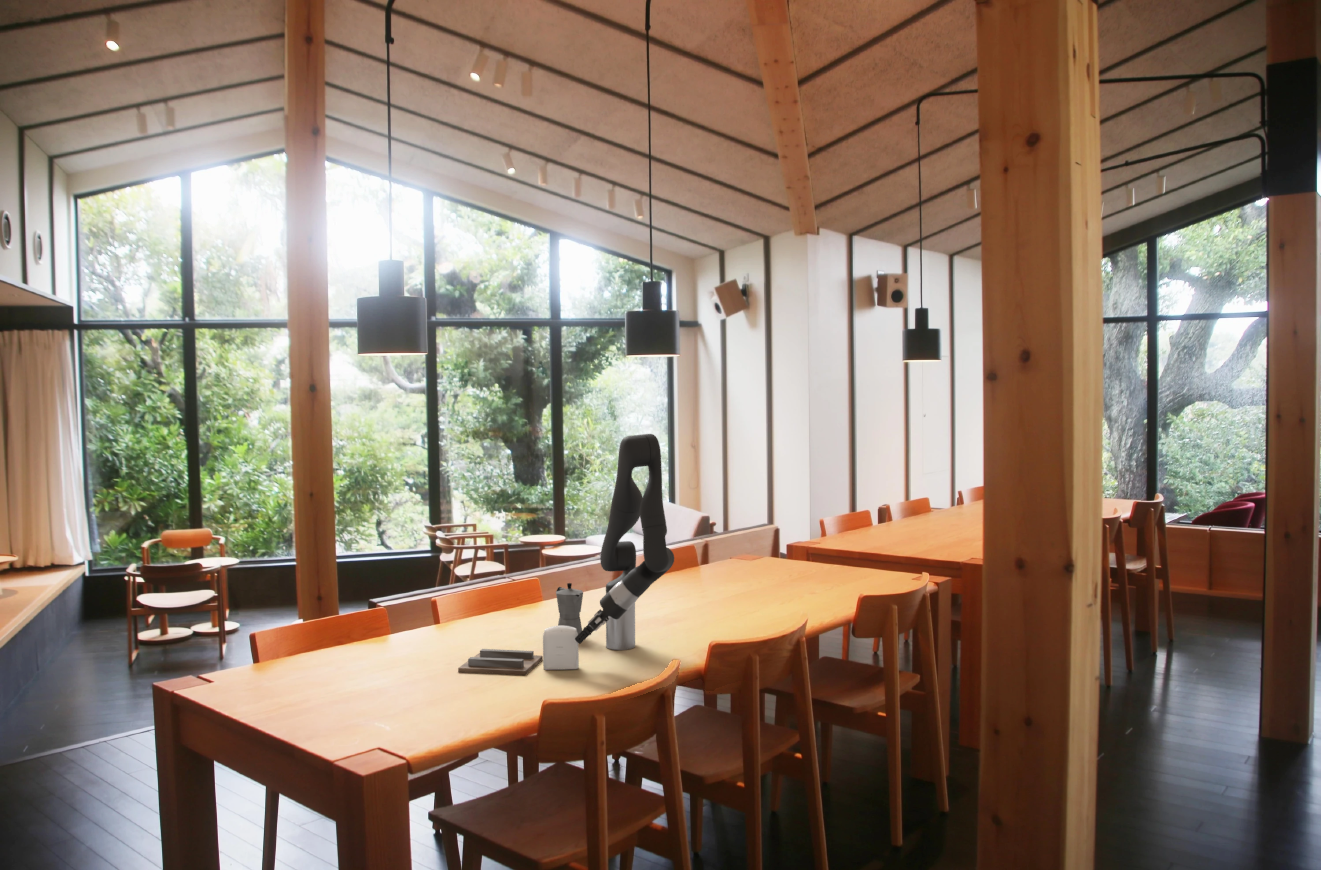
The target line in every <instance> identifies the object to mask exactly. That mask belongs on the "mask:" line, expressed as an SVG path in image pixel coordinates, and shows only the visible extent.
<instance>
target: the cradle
mask: <svg viewBox="0 0 1321 870" xmlns="http://www.w3.org/2000/svg"><path fill="white" fill-rule="evenodd" d="M540 661H541V662H543V655H535V654H534V650H517V649H515V650H514V649H494V648H491V649H490V648H482V649H480V650H479V652H478V653H477V654H476V655H474V656H470V657H469V658H468V659H467V661H466V662H464V663H463V664H462V665H460V666H459V667H458V668H457V672H458V673H468V674H469V673H470V674H488V675H489V674H491V675H493V674H494V675H512V676H513V675H515V676H527V675H528V674H529V673H530V672H531V671H532V670H533V669H534V668H535V667H536V666H537V665H539V664H540V663H539V662H540Z"/></svg>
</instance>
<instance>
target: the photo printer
mask: <svg viewBox="0 0 1321 870" xmlns="http://www.w3.org/2000/svg"><path fill="white" fill-rule="evenodd" d="M577 636H578V633H577V629H576V628H574V627H570V626H558V625H554V626H553V625H552V626H549V627H546V628H544V631H543V634H542V656H543V660H542V662H543V663H542V665H543V670H547V671H550V670H578V669H579V667H580V665H579V664H580V663H579V662H580V658H579V657H580V656H579V643H578V642H577V641H576V640H575V638H576V637H577Z"/></svg>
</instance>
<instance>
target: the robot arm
mask: <svg viewBox="0 0 1321 870" xmlns="http://www.w3.org/2000/svg"><path fill="white" fill-rule="evenodd" d="M618 448H619V450H618V458H617V470H616V478H615V479H616V480H615V484H614V490H613V495H612V500H611V505H610V508H609V511H610V512H609V518H608V524H607V528H606V532H605V536H604V538H603V542H602V545H601V549H600V556H599V558H600V560H599V561H600V566H601V568H602V570H604V571H606V572H622V573H621V574H620V575H619V576H618V577H616V578H615V579H612V580H609V582H607V583H605V584H606V585H605V594H604V596H603V597H602V598H601V599H600V600H599V604H600V607H601V608H602V609H599V610H598V611H597V612H595V613H594V614H593V617H592V618H590V620H589V621H587V625H586V626H584V627H583V628H582V632H581V633H580V634H579V635H578V636H577V637H576V638H575V640H576V641H577V642H578V645H580V644H582V643H583V642H584V641H585V640H586V639H587V638H588V637H589V636H591V635H592V634H593V632H597V631H598V630H599V629H600V628H601V627H602V626H604V625H605V642H606V643H605V647H606V648H607V649H609V650H615V651H623V650H632V649H634V648H635V647H636V602H637V601H638V599H639V598H640V597H641V596H642V595H643V594H644V593H645V592H646V591H648V589H649V587H651V586H652V584H654V583H655V582H657V581H658V580H659V579H660V578H661V577H662V576H664V575H665V574H666V573H667V572H668V571H669V570H671V568H672V567H673V565H674V563H675V555H674V552H673V551H672V549H671V548H668V547H667V542H666V536H667V534H668V528H667V527H668V526H667V521H666V516H665V509H664V502H663V474H662V472H663V471H662V452H661V445H660V441H659V439H658V438H657V436H656V435H655V434H652V433H644V434H634V435H627V436H625V437H623V438H622V439H621V441H620V444H619V447H618ZM641 467H648V468H647V469H648V481H647V483H646V487H645V491H644V493H643V494H642V492H641V490H640V488H639V487H638V485H637V484H636V482H635V481H634V479H633V471H634V469H635V468H641ZM639 519H640V524H641V531H642V535H643V539H642V541H643V542H642V543H643V548H642V549H643V551H642V552H643V553H642V554H643V561H642V562H641V563H640V564H639V565H638V566H637V550H636V545H635V544H634V542H633V541H627V540H626V541H623V540H622V541H621V539H622V538H623V537H624V536H625V535H626V534H627V533H628V532H629V531H630V530H631V529H632V528H633V527H635V525H636V524H637V522H638V521H639Z"/></svg>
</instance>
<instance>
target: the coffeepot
mask: <svg viewBox="0 0 1321 870" xmlns="http://www.w3.org/2000/svg"><path fill="white" fill-rule="evenodd" d="M566 585H567V588H565V587H561V586H559V587H557V589H556V591H555V595H556V600H557V601H556V602H557V608H558V613H559V618H558V624H557V626H570V627H574V628H576V629H577V633H578V635H579V634H580V633H581V632H582V631H583V628H582V621H581V617H580V616H581V615H580V614H581V612H582V605H583V598H584V597H583V595H584V591H583V590H581V589H576V588H572V583H571V582H569V583H566Z"/></svg>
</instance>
